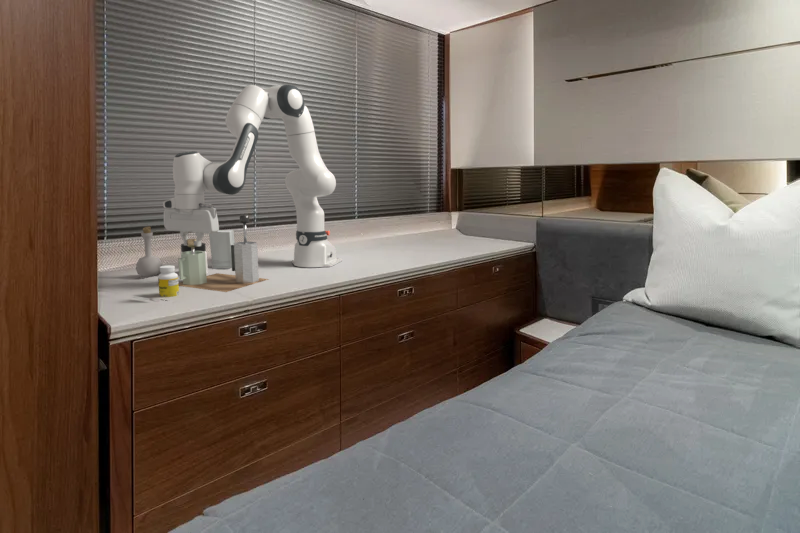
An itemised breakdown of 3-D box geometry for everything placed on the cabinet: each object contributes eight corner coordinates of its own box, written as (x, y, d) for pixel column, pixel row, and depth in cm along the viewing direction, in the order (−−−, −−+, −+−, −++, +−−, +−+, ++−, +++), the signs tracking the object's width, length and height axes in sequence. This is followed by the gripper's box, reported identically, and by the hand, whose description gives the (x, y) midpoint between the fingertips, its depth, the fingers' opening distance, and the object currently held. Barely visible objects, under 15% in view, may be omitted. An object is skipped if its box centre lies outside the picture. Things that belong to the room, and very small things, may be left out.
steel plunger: (244, 247, 168) (243, 214, 166) (256, 248, 166) (254, 215, 164) (235, 249, 163) (233, 215, 161) (246, 250, 161) (245, 216, 159)
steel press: (240, 277, 172) (238, 240, 170) (262, 280, 168) (261, 242, 166) (225, 281, 166) (223, 243, 163) (248, 284, 162) (246, 245, 160)
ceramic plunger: (194, 267, 166) (192, 237, 164) (205, 269, 164) (203, 238, 162) (183, 270, 162) (180, 239, 160) (194, 271, 160) (192, 240, 158)
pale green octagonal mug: (195, 279, 168) (193, 250, 167) (211, 281, 166) (209, 251, 164) (172, 284, 160) (170, 254, 158) (189, 287, 157) (187, 256, 155)
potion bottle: (169, 275, 180) (165, 226, 177) (151, 280, 172) (147, 228, 168) (149, 273, 182) (145, 225, 179) (130, 278, 174) (126, 227, 171)
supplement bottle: (156, 298, 147) (153, 266, 145) (173, 295, 151) (171, 264, 149) (165, 302, 143) (162, 268, 142) (183, 298, 148) (180, 266, 146)
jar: (211, 274, 183) (209, 242, 180) (204, 279, 175) (202, 245, 172) (186, 274, 182) (183, 242, 179) (178, 279, 174) (176, 245, 171)
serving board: (217, 276, 179) (217, 273, 179) (269, 282, 171) (269, 279, 170) (170, 288, 160) (170, 284, 160) (226, 295, 151) (226, 291, 151)
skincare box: (237, 266, 199) (235, 229, 196) (232, 269, 193) (230, 231, 190) (216, 266, 198) (214, 229, 196) (210, 269, 192) (208, 231, 190)
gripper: (222, 203, 158) (224, 246, 160) (174, 201, 166) (177, 242, 168) (207, 204, 152) (210, 249, 155) (158, 202, 160) (161, 244, 162)
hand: (192, 245), depth 161 cm, fingers closed on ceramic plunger, 3 cm apart
